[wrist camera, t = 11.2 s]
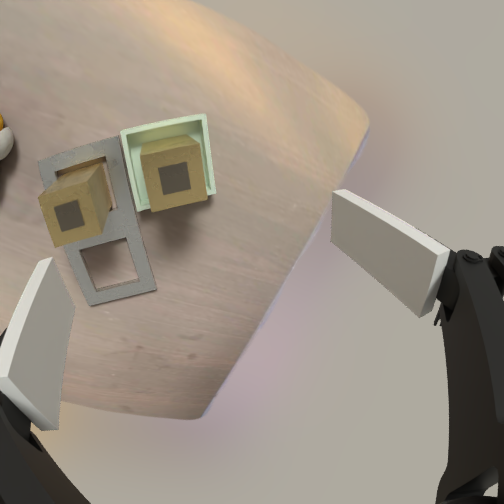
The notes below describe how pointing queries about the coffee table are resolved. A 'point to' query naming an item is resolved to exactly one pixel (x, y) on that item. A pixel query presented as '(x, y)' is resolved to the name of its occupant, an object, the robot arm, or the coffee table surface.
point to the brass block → (173, 172)
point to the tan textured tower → (76, 205)
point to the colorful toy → (5, 140)
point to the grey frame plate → (117, 223)
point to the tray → (157, 131)
